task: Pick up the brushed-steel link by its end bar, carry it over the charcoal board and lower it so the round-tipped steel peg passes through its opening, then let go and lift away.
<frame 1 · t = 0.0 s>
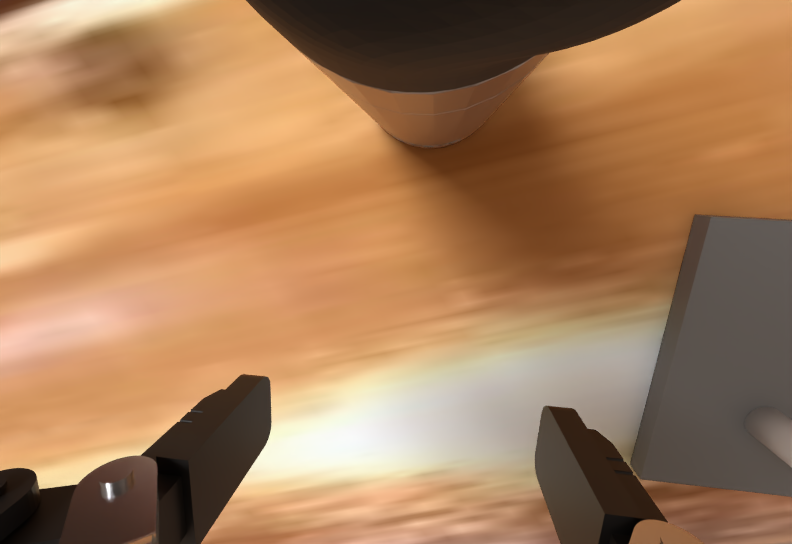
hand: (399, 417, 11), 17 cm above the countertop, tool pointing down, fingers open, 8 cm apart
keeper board: (762, 360, 26), on the countertop
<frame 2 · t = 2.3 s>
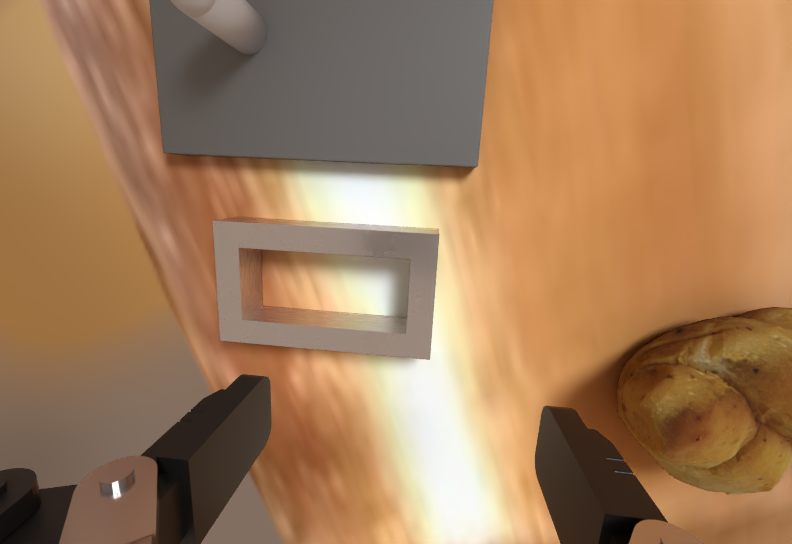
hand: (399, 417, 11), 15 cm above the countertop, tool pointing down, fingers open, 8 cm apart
bread roll: (696, 370, 25), on the countertop
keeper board: (321, 42, 23), on the countertop
steel link: (335, 279, 26), on the countertop
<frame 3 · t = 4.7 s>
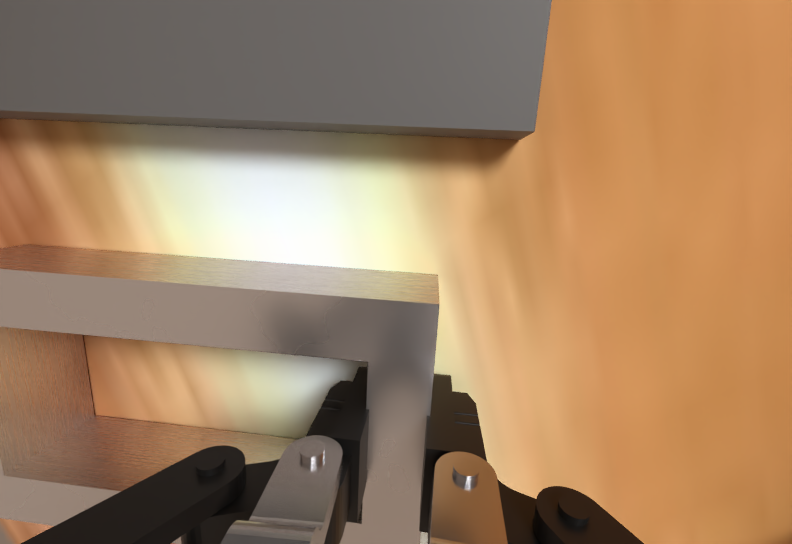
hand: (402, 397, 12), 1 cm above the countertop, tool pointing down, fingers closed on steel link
steel link: (228, 371, 13), on the countertop, touching gripper
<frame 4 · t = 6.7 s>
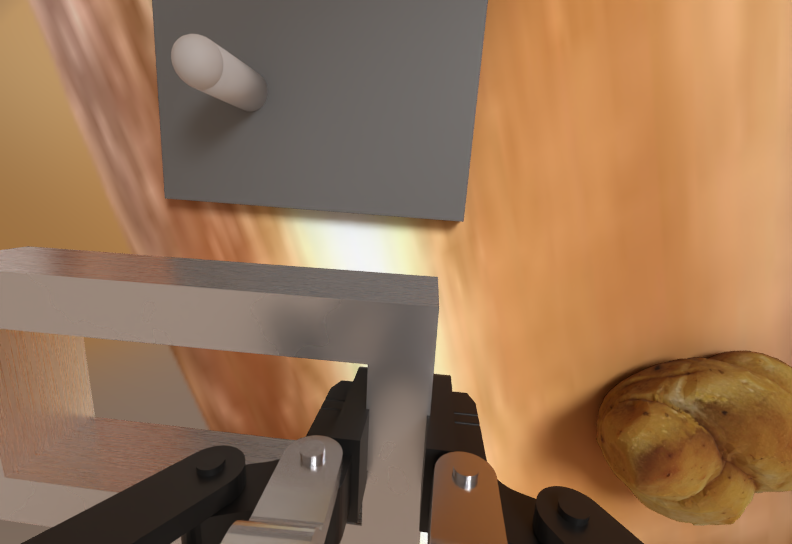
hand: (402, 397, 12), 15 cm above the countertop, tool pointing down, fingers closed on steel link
bread roll: (671, 404, 26), on the countertop
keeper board: (319, 100, 24), on the countertop
steel link: (228, 372, 13), point 14 cm above the countertop, touching gripper
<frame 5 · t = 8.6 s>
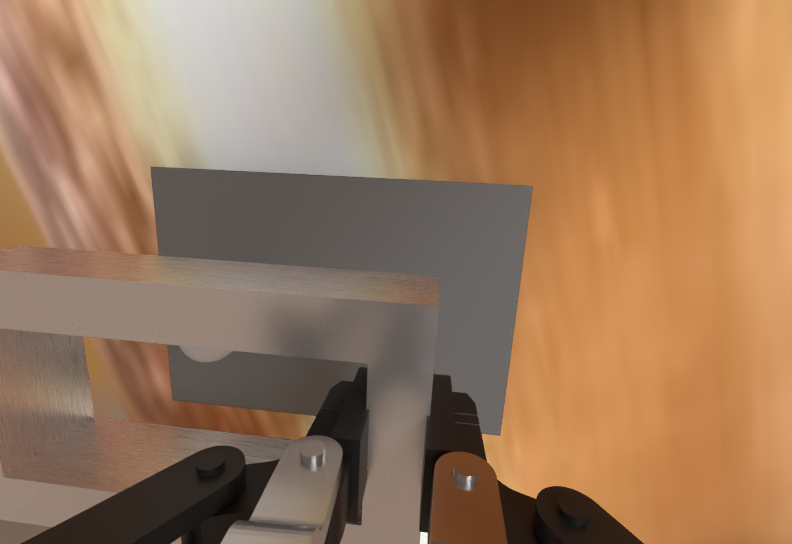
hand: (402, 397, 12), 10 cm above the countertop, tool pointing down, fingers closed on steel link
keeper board: (338, 298, 22), on the countertop
steel link: (227, 372, 13), point 9 cm above the countertop, touching gripper
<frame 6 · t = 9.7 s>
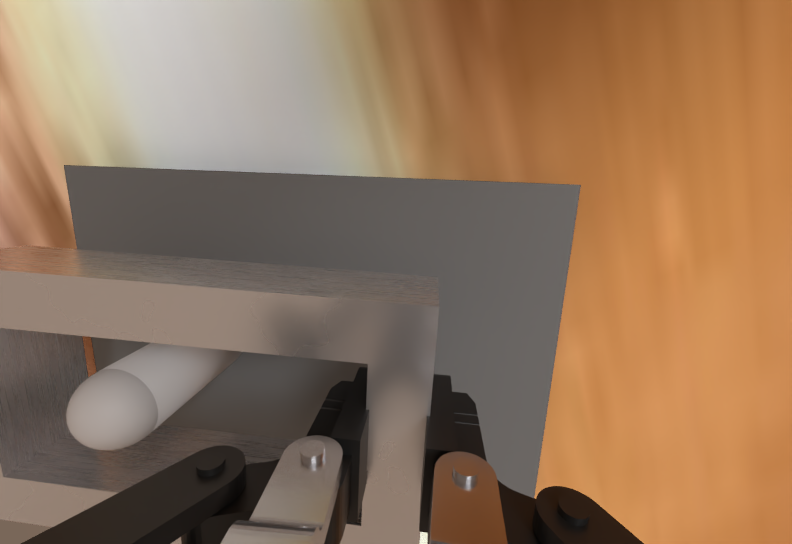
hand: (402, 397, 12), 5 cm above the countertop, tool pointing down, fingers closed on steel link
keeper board: (318, 332, 17), on the countertop
steel link: (227, 372, 13), point 4 cm above the countertop, touching gripper
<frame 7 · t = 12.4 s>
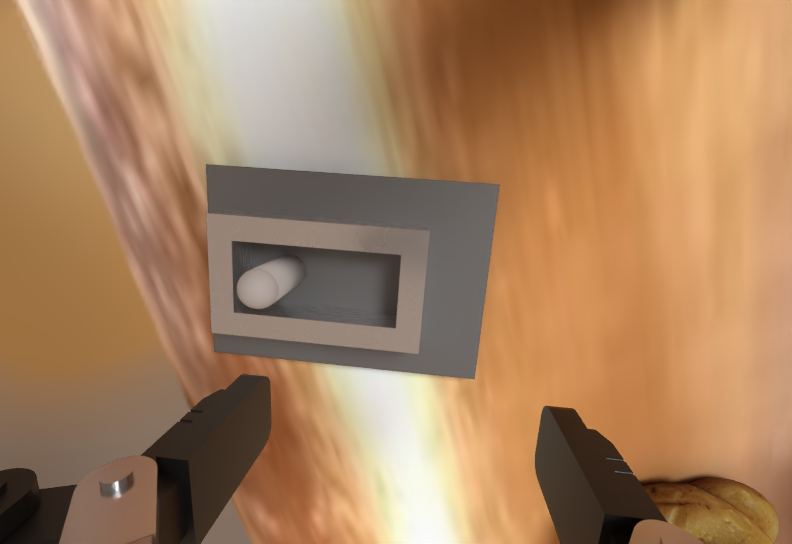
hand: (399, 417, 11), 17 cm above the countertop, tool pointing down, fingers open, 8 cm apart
bread roll: (663, 513, 30), on the countertop
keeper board: (349, 270, 28), on the countertop
steel link: (326, 274, 26), point 1 cm above the countertop, touching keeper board
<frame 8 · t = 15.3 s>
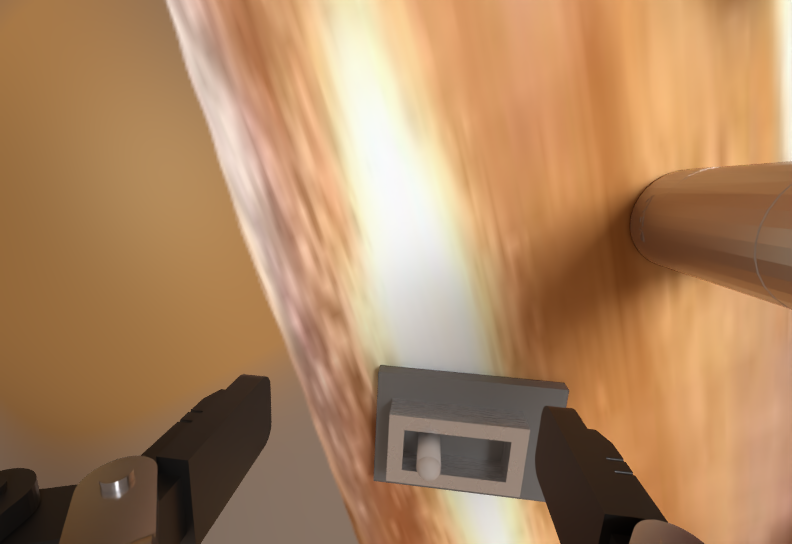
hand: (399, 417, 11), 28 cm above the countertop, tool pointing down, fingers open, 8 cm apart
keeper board: (464, 429, 42), on the countertop
steel link: (453, 437, 41), point 1 cm above the countertop, touching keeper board
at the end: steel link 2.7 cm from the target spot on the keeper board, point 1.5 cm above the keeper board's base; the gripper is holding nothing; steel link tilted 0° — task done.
